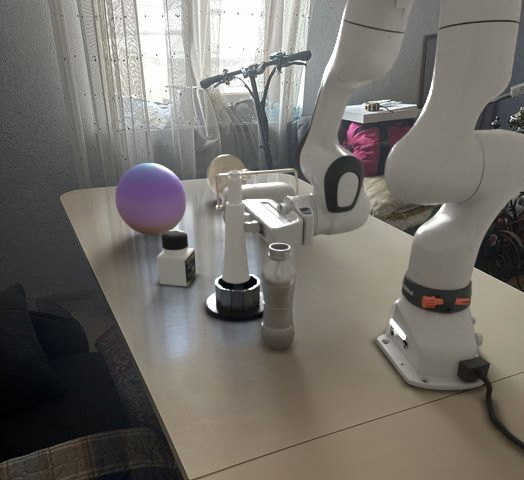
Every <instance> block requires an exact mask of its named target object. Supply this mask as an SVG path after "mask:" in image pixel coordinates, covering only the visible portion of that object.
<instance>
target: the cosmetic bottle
mask: <svg viewBox="0 0 524 480" xmlns="http://www.w3.org/2000/svg"><path fill="white" fill-rule="evenodd" d="M227 180H228V201H227V202H226V212H225V223H224V250H223V251H224V253H223V264H222V265H223V266H222V273H221V275H222V279H223V280H224V281H225V282H228V283H232V284H239V283H244V282H247V281H248V280H249V279H250V274H251V273H250V269H249V261H248V250H247V232H245V230H244V223H245V209H244V202H242V178H241V176H240V171H230V172H229V177H228V179H227Z"/></svg>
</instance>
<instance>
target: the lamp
mask: <svg viewBox="0 0 524 480" xmlns="http://www.w3.org/2000/svg"><path fill="white" fill-rule="evenodd" d="M230 171H240V176H241V178H242V201H244V200H252V199H271V200H274V201H275V202H277V203H278V204H282V202H283V200H284V198H285V197H290V196H300V195H299V194H300V193H299V176H298V174H299V173H298V172H297V170H296V168H283V169H282V168H281V169H272V170H256V171H255V170H254V171H251V170H250V169H249V168H246V166H245V164H244V163H243V161H241V159H240V158H239V157H237V156H235V155H233V154H221V155H219V156H217V157H215V158H214V159H213V160H211V162H210V163H209V165H208V167H207V169H206V181H207V184H208V186H209V188H210V190H211V191H212V192H213V193H214V194H215V195H216V204H217V205H216V206H215V212H217V213H218V212H221V213H222V219H223V223H224V224H225V212H226V202H227V201H228V180H227V179H228V177H229V172H230ZM285 173H293V174H294V186H295V187H293V186H292V185H291V184H289V183H287V182H284V181H280V182H279V181H275V182H263V183H262V182H261V183H251V184H247V181H248V180H250V179H251V178H252V177H253V176H259V175H270V174H285ZM220 197H221V198H220Z"/></svg>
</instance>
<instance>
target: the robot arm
mask: <svg viewBox="0 0 524 480" xmlns="http://www.w3.org/2000/svg"><path fill="white" fill-rule="evenodd" d="M522 1H523V0H440V11H439V16H438V17H439V19H438V26H437V27H438V28H437V37H436V49H435V55H434V65H433V72H432V78H431V84H430V88H429V92H428V94H427V98H426V101H425V103H424V105H423V108H422V110H421V112H420V114H419V115H418V118H417V119H416V121H415V122H414V123H413V125H412V127H410V129H409V131H407V132H406V134H404V135H403V136H402V137H401V139H399V140H398V141H396V142H395V144H394V145H393V146H392V148H391V149H390V151H389V153H388V154H387V158H386V160H385V164H384V171H383V172H384V173H383V174H384V175H383V176H384V182H385V185H386V188H387V190H388V192H389V194H390V195H391V196H392V198H393V199H394V200H395V201H397V202H399V203H404V204H405V203H406V204H411V205H417V206H419V205H420V206H436V205H441V206H440V208H439V209H438V211H437V212H436V213H435V214H434V215H433V216H432V217H431V218H429V219H428V220H427V221H425V222H424V223H423V224H422V225H421V226H419V227H418V228H417V230H416V231H415V233H414V235H413V237H412V243H411V248H410V254H409V261H408V265H407V270H405V273H404V276H403V279H402V282H401V295H400V296H399V297H398V298H397V299H396V300H395V301H394V302H393V303H392V304H391V306H390V311H389V315H388V319H387V324H386V328H385V332H384V333H383V334H381V335H379V336H378V337H377V338H376V341H375V342H376V345H377V346H378V348H379V349H380V350H381V351H382V353H383V354H384V355H385V357H386V358H387V359H388V360H389V362H390V363H391V365H392V366H393V368H394V369H395V370H396V371H397V373H398V374H399V375H400V376H401V378H402V379H403V380H404V381H405V382H406V383H407V384H408V385H410V386H413V387H417V388H421V389H427V390H437V391H462V390H471V389H476V388H479V387H481V386H483V385H484V386H485V396H484V397H485V404H486V408H487V412H488V416H489V418H490V420H491V422H492V423H493V424H494V426H495V427H496V428H497V429H498V430H499V431H500V432H501V433H502V434H503V436H504V437H505V438H506V439H507V440H509V441H510V442H511V443H512V444H514V445H515V446H516V447H518V448H519V449H521V450H523V451H524V442H523V441H521V440H520V439H519V438H518V437H516V436H515V435H514V434H513V433H512V432H510V430H508V428H507V427H506V426H505V424H503V423H502V422H501V421H500V420H499V418H498V416H497V415H496V412H495V410H494V406H493V405H494V404H493V399H492V395H493V385H492V383H491V381H490V379H489V378H488V377H487V376H488V373H489V370H490V367H491V362H490V361H488V360H487V359H486V358H484V357H482V356H481V355H479V354H478V347H480V346H482V344H483V341H484V340H483V339H484V335H483V333H481V332H475V327H474V326H476V322H477V321H476V320H477V319H476V317H473V316H472V313H471V303H472V302H471V301H472V295H473V288H472V286H473V281H472V275H473V272H474V268H475V265H476V261H477V257H478V254H479V251H480V247H481V245H482V242H483V240H484V238H485V236H486V234H487V232H488V230H489V229H490V227H491V225H492V224H493V223H494V221H495V220H496V218H497V216H498V215H499V214H500V212H501V211H502V210H503V208H504V207H505V206H507V204H508V203H509V202H510V201H511V200H512V199H514V197H515V196H517V195H519V193H521V192H522V191H524V133H521V132H517V131H513V130H508V129H502V128H494V129H477V130H476V129H475V128H476V126H477V122H478V120H479V117H480V116H481V113H482V112H483V111H484V109H485V108H486V106H487V105H488V104H489V103H490V102H491V101H493V100H494V99H496V98H498V97H499V96H500V95H502V93H504V92H505V90H506V89H507V88H508V86H509V85H510V82H511V79H512V76H513V75H512V74H513V67H514V60H515V56H516V55H515V53H516V47H517V40H518V34H519V29H520V28H519V27H520V20H521V13H522V12H521V11H522ZM415 2H416V0H346V2H345V6H344V10H343V14H342V19H341V22H340V27H339V32H338V36H337V39H336V43H335V46H334V50H333V52H332V55H331V57H330V58H329V60H328V63H327V64H326V67H325V69H324V73H323V76H322V79H321V81H320V85H319V89H318V91H317V96H316V98H315V102H314V106H313V108H312V112H311V116H310V120H309V123H308V125H307V128H306V130H305V132H304V133H303V136H302V138H301V139H300V141H299V142H298V144H297V146H296V149H295V152H294V158H293V161H294V163H293V164H294V169H295V170H296V171H297V173H298V174H299V176H300V177H301V178H303V180H306V181H307V182H308V183H310V184H311V185H312V186H313V189H312V192H311V193H310V194H301V195H299V196H290V197H285V198H284V200H283V202H282V204H278V203H277V202H275V201H274V200H271V199H252V200H244V201H242V202H244V209H245V223H244V230H245V232H246V233H250V234H258V235H259V236H260V237H261V238H262V239H263V240H264V241H265V242H266V243H267V244H268V245H269V246H270V245H271V244H274V243H283V244H287V245H289V246H290V247H297V246H302V247H311V246H312V245H313V242H314V241H313V240H314V237H316V236H320V235H325V236H332V235H339V234H346V233H350V232H353V231H355V230H358V229H360V228H361V227H362V226H364V225H365V224H366V222H367V221H368V220H369V216H370V213H371V212H370V211H371V202H370V199H369V196H368V195H367V194H366V191H365V187H364V180H365V167H364V165H363V163H362V161H361V160H360V159H359V158H358V157H357V156H355V154H353V152H351V151H349V149H347V148H345V147H344V146H343V145H341V144H340V141H339V135H338V133H339V130H340V127H341V124H342V121H343V117H344V115H345V112H346V108H347V105H348V102H349V100H350V97H351V95H352V94H353V93H354V91H355V90H356V89H358V88H359V87H361V86H363V85H367V84H372V83H374V82H376V81H378V80H380V79H381V78H383V77H384V76H385V75H386V74H388V73H389V72H390V71H391V70H392V68H393V66H394V64H395V63H396V60H397V58H398V56H399V53H400V51H401V47H402V45H403V40H404V38H405V33H406V30H407V26H408V22H409V18H410V15H411V11H412V8H413V6H414V3H415Z"/></svg>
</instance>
